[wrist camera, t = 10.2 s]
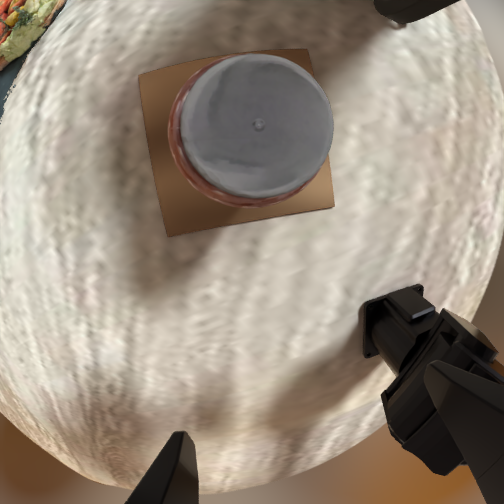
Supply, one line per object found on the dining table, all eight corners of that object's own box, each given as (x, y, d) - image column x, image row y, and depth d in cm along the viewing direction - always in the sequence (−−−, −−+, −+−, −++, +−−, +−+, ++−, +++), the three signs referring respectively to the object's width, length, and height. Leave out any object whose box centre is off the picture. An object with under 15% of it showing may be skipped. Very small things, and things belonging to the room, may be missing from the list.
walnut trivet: (328, 204, 20) (334, 206, 19) (171, 233, 20) (167, 237, 18) (303, 54, 16) (307, 48, 15) (143, 79, 16) (138, 75, 15)
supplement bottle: (291, 172, 18) (371, 225, 7) (202, 184, 18) (165, 255, 7) (281, 87, 15) (353, 25, 5) (189, 98, 15) (130, 45, 5)
